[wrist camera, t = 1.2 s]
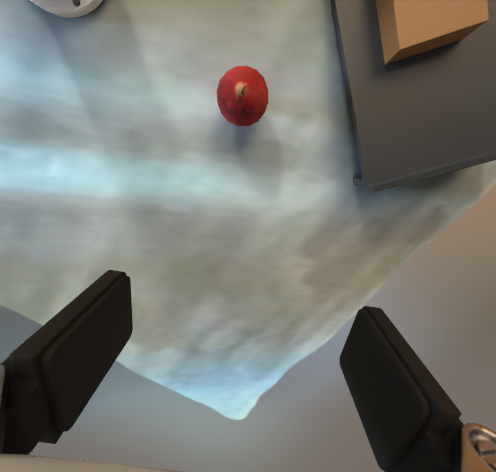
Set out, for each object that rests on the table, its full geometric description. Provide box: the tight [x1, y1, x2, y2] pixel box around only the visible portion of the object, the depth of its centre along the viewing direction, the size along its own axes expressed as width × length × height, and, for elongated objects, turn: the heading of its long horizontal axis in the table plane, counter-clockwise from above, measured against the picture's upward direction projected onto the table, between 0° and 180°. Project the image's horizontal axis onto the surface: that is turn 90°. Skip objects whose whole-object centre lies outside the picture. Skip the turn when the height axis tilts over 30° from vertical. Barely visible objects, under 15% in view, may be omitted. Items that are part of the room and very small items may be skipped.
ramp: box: [331, 0, 496, 192], centre depth 25 cm, size 22×16×6 cm
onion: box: [217, 66, 268, 126], centre depth 26 cm, size 6×6×8 cm
